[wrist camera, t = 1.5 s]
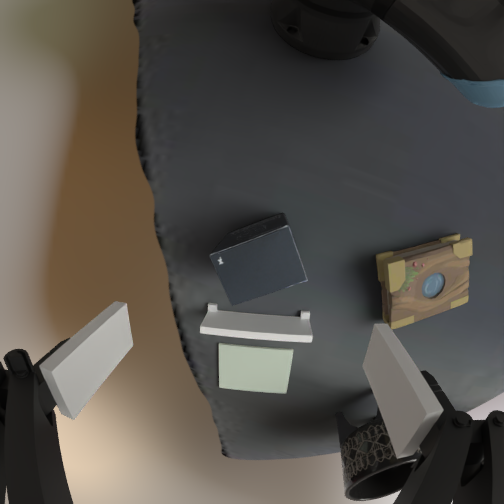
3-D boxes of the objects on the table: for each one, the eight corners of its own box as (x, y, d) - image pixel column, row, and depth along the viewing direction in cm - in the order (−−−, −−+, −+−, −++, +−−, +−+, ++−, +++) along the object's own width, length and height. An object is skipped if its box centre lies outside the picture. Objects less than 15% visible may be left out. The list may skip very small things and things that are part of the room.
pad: (219, 342, 39) (218, 344, 39) (293, 348, 38) (293, 350, 38) (219, 385, 41) (219, 387, 41) (286, 391, 41) (286, 393, 40)
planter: (352, 378, 39) (378, 463, 22) (410, 385, 39) (445, 455, 22) (320, 425, 42) (328, 502, 25) (375, 430, 42) (394, 497, 25)
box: (243, 272, 36) (230, 307, 26) (226, 233, 35) (206, 253, 25) (299, 253, 35) (309, 281, 25) (284, 211, 34) (288, 223, 24)
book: (456, 232, 32) (475, 238, 28) (456, 297, 35) (472, 309, 30) (374, 253, 34) (387, 264, 30) (380, 323, 37) (391, 340, 32)
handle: (208, 302, 38) (199, 319, 33) (309, 310, 37) (313, 328, 32) (209, 321, 38) (200, 339, 34) (306, 329, 37) (310, 348, 33)
